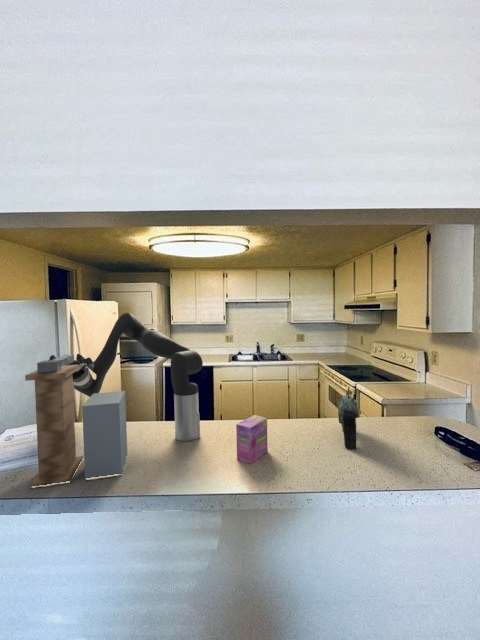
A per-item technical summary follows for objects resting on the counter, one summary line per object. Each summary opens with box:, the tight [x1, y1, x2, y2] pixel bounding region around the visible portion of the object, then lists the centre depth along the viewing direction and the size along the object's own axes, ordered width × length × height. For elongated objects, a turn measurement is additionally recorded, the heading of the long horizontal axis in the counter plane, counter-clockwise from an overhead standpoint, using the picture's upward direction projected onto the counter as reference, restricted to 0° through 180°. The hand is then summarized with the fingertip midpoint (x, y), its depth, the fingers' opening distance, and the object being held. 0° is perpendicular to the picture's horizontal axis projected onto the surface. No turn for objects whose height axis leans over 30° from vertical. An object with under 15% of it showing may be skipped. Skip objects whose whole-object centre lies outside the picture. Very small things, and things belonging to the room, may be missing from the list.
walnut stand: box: [24, 365, 84, 488], centre depth 92 cm, size 10×14×32 cm
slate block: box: [81, 390, 128, 480], centre depth 95 cm, size 10×14×22 cm
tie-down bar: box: [36, 354, 75, 374], centre depth 96 cm, size 20×5×3 cm, turn 14°
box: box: [235, 414, 268, 465], centre depth 101 cm, size 10×6×12 cm, turn 143°
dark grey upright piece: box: [337, 386, 359, 450], centre depth 111 cm, size 20×6×20 cm, turn 165°
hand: (64, 357), depth 101 cm, fingers open, 7 cm apart
